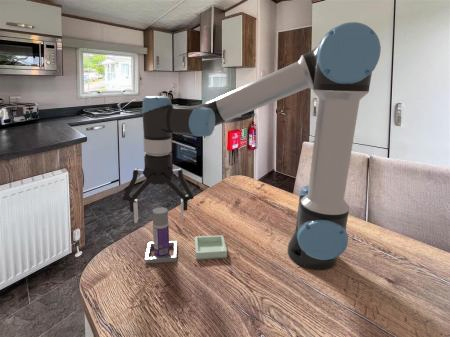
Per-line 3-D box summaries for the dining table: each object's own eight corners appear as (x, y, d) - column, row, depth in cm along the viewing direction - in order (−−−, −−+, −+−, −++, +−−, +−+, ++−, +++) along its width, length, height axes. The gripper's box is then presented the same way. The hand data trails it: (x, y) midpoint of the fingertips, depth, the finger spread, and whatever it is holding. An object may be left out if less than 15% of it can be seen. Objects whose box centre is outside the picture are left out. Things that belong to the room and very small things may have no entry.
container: (171, 250, 91) (170, 207, 87) (166, 258, 87) (165, 214, 82) (157, 248, 92) (155, 206, 87) (152, 257, 87) (149, 213, 83)
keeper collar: (176, 244, 94) (176, 240, 94) (176, 261, 86) (176, 257, 85) (148, 246, 93) (148, 242, 92) (145, 263, 84) (144, 259, 84)
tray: (222, 241, 97) (222, 235, 96) (226, 258, 88) (227, 251, 87) (194, 243, 96) (194, 236, 95) (196, 260, 87) (196, 252, 86)
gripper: (201, 149, 85) (199, 213, 91) (114, 149, 81) (119, 215, 88) (203, 156, 78) (201, 225, 84) (108, 155, 74) (113, 227, 80)
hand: (159, 220), depth 86 cm, fingers open, 13 cm apart
